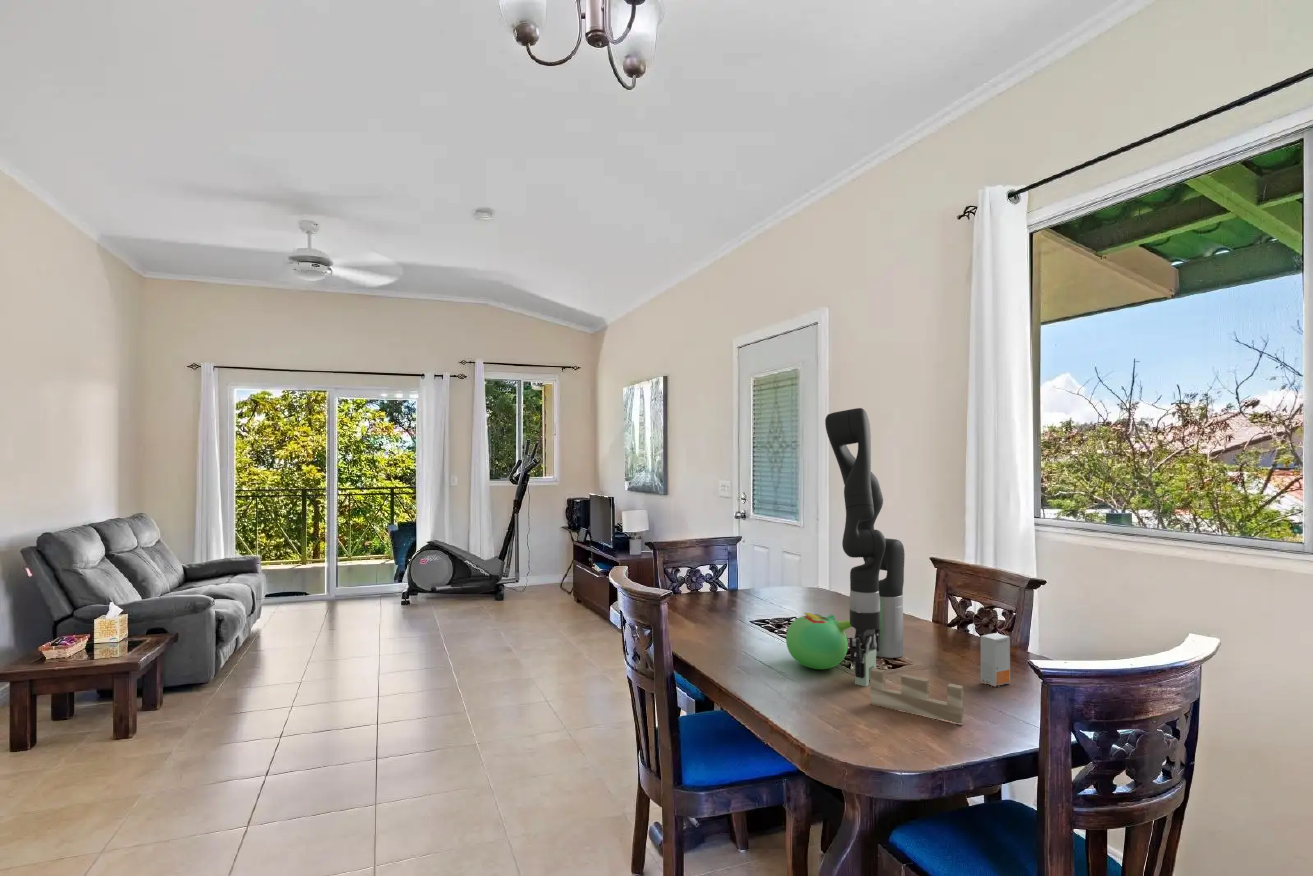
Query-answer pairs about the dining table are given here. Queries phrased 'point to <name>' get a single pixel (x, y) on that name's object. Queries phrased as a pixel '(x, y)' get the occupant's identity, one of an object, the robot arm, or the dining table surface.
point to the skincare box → (995, 658)
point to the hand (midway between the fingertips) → (865, 673)
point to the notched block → (867, 667)
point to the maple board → (917, 697)
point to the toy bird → (818, 641)
